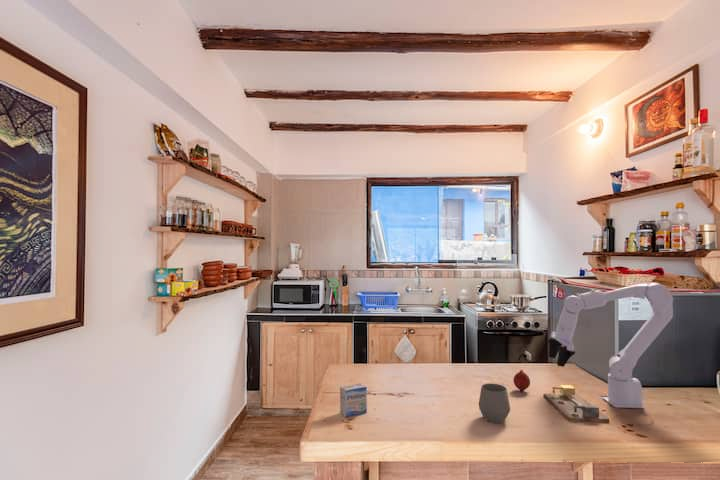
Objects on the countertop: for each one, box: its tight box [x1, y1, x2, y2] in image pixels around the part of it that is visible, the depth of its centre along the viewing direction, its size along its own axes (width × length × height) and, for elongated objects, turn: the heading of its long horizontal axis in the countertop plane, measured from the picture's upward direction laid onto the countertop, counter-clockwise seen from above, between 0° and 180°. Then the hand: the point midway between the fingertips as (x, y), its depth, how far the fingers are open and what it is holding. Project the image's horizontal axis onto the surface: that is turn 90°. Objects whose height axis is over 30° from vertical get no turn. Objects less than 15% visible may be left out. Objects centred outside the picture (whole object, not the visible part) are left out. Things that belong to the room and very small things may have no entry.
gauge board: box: [543, 393, 610, 423], centre depth 131 cm, size 12×20×4 cm, turn 176°
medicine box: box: [339, 383, 368, 418], centre depth 128 cm, size 8×4×9 cm, turn 118°
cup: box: [478, 382, 511, 424], centre depth 123 cm, size 10×9×10 cm
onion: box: [513, 369, 531, 392], centre depth 147 cm, size 6×6×8 cm
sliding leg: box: [552, 384, 576, 395], centre depth 139 cm, size 7×3×2 cm, turn 86°
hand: (555, 361), depth 145 cm, fingers open, 7 cm apart
